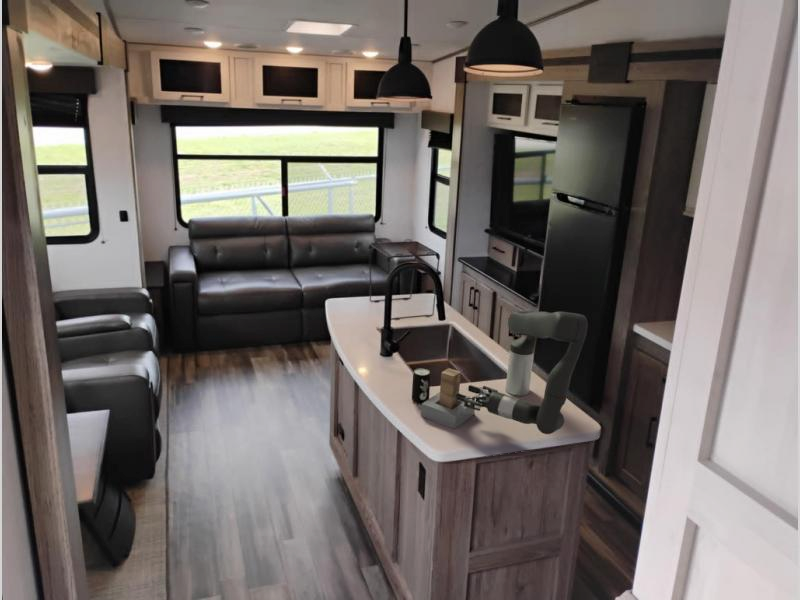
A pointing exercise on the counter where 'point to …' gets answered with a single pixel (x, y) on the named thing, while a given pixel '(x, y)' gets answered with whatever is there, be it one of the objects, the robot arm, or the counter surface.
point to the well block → (445, 412)
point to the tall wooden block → (449, 388)
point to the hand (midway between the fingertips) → (462, 391)
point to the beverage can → (421, 385)
